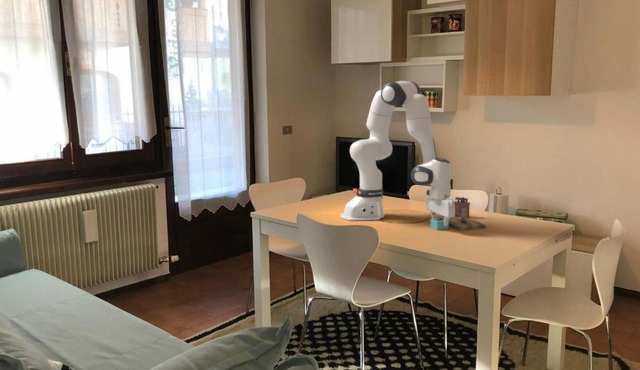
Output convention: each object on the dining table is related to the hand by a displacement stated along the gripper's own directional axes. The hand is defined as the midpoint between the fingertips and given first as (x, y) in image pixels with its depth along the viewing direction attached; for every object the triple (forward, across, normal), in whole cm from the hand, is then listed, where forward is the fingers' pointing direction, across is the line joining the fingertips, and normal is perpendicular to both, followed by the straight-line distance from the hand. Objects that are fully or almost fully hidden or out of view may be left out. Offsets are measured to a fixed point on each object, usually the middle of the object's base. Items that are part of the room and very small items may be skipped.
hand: (439, 223), depth 259 cm
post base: (+2, 0, -13) cm, 13 cm away
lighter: (+2, +16, -22) cm, 27 cm away
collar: (+2, 0, 0) cm, 2 cm away
